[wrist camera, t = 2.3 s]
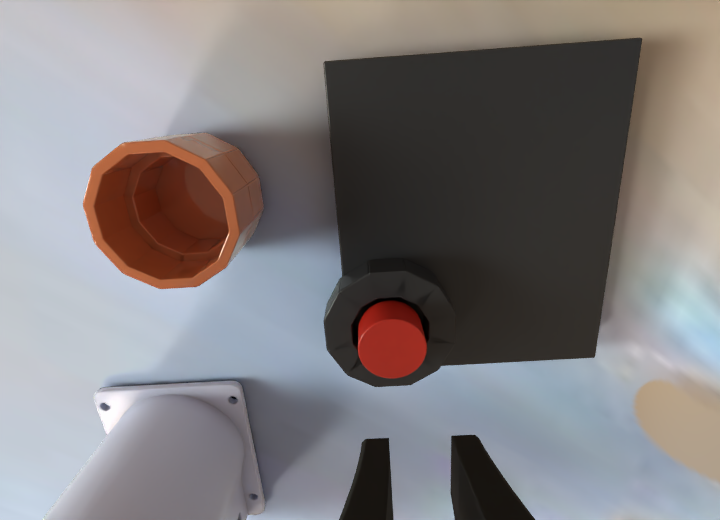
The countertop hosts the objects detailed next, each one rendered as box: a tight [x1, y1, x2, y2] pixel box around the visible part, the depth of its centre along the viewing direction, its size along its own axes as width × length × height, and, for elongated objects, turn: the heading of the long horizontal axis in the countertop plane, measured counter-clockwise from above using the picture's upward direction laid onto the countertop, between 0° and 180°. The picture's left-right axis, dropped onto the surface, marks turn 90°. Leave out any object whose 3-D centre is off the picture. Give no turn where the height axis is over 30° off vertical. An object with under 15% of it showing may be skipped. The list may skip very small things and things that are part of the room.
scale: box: [324, 38, 642, 387], centre depth 18 cm, size 14×13×3 cm
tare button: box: [358, 300, 427, 378], centre depth 18 cm, size 3×3×2 cm
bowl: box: [83, 133, 264, 289], centre depth 17 cm, size 5×5×4 cm
